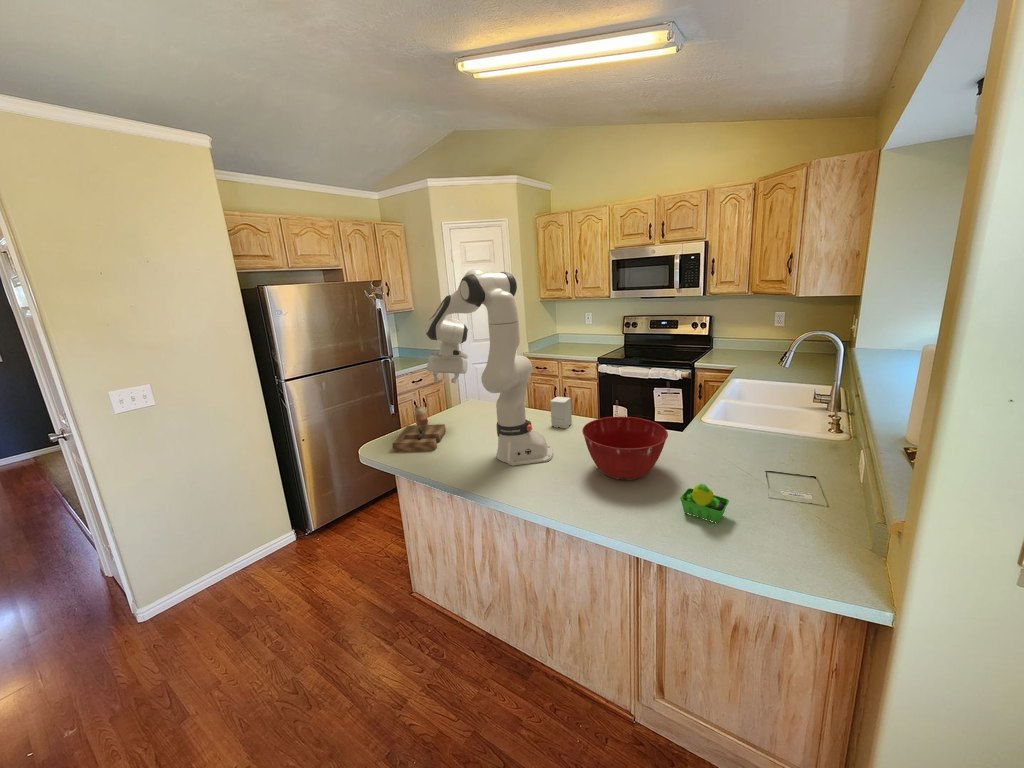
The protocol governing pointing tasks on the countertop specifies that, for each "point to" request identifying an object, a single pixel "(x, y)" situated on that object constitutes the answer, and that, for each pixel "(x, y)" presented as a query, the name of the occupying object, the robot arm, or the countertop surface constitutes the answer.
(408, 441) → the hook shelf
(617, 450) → the mixing bowl
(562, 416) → the supplement box
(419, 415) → the cord spool
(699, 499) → the fruit basket
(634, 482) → the countertop surface
